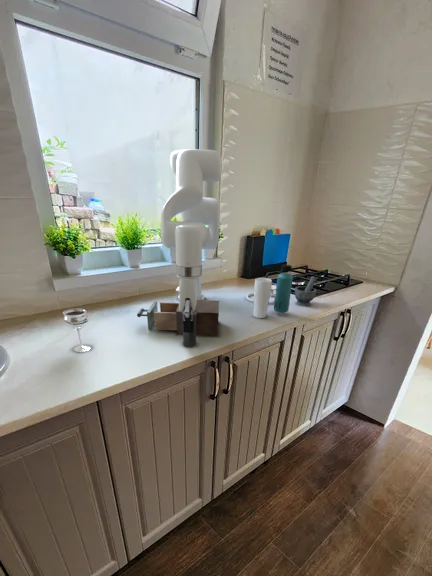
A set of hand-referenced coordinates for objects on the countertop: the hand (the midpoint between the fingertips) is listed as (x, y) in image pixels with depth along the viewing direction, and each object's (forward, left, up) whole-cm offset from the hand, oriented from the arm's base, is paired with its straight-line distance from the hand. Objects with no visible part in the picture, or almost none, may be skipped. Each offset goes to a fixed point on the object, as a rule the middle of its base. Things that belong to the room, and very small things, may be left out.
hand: (189, 327), depth 104 cm
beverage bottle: (+9, +49, -6) cm, 51 cm away
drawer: (-18, +6, -5) cm, 19 cm away
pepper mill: (0, 0, -6) cm, 6 cm away
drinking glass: (+4, +40, -6) cm, 41 cm away
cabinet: (-7, +13, -6) cm, 16 cm away
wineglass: (-24, -25, -6) cm, 35 cm away
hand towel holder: (-7, +65, -6) cm, 66 cm away
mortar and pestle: (+11, +70, -6) cm, 72 cm away
